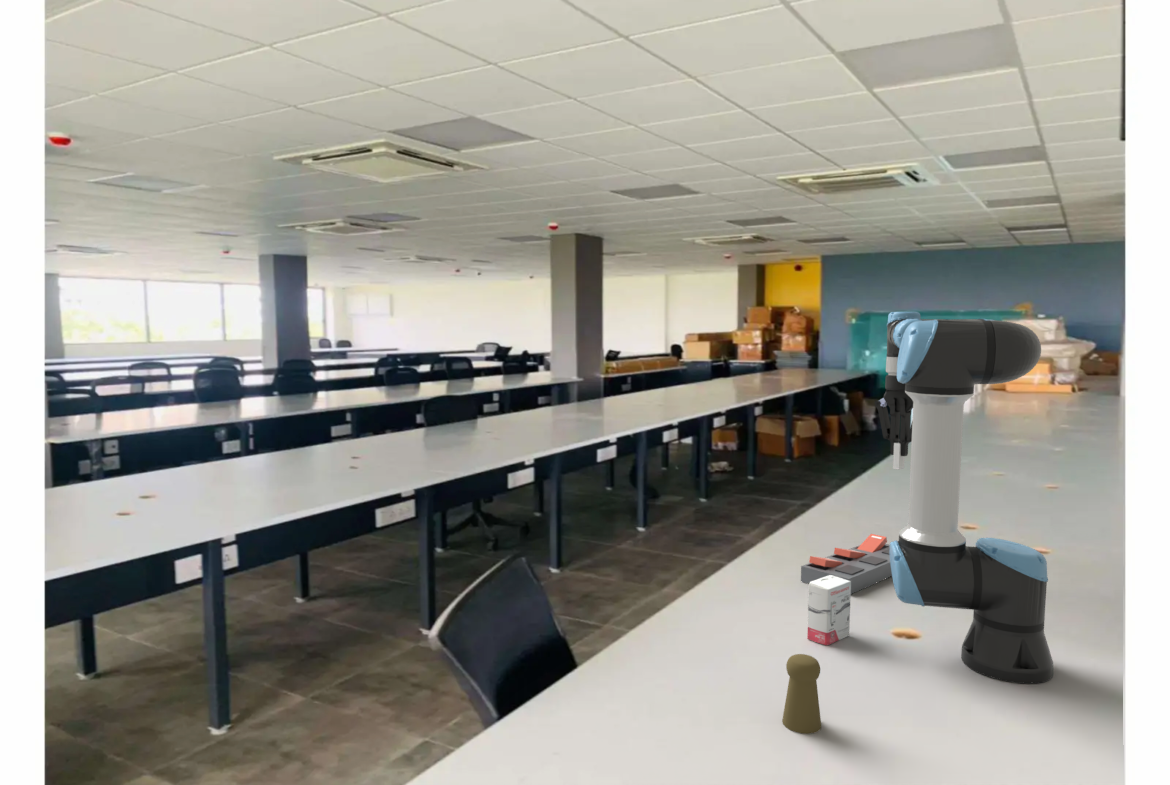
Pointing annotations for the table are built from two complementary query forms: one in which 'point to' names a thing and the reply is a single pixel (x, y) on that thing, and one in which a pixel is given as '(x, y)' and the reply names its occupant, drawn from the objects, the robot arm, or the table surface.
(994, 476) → the table surface
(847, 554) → the rocker
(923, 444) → the robot arm
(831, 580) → the ink box
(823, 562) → the rocker
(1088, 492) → the table surface
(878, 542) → the rocker
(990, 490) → the table surface
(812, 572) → the power strip
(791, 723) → the olive brown peg figure
